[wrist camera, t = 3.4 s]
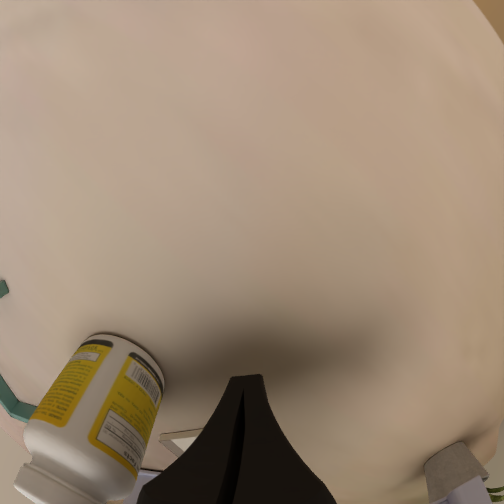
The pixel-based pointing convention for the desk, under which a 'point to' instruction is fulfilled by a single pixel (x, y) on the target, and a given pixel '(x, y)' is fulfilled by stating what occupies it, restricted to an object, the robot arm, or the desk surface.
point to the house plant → (454, 472)
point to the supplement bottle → (92, 425)
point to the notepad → (179, 441)
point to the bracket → (5, 395)
